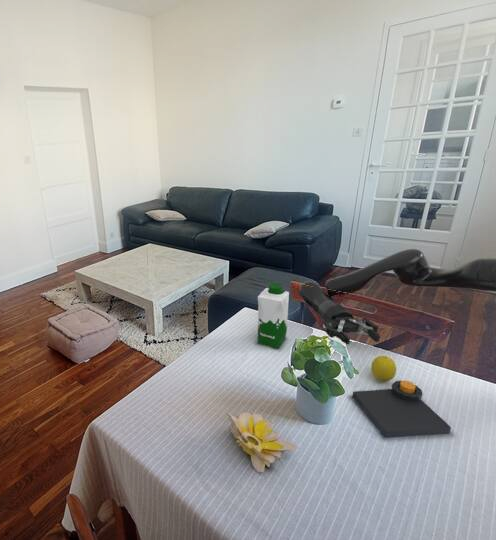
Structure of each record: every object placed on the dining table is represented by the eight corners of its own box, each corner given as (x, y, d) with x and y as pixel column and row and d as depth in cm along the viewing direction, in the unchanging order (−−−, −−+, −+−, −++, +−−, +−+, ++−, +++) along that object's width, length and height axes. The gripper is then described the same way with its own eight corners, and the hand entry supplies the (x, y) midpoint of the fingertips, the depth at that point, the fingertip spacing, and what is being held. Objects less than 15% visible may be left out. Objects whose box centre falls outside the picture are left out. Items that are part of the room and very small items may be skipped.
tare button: (408, 385, 86) (409, 380, 86) (417, 393, 84) (418, 388, 83) (396, 386, 87) (397, 381, 86) (405, 394, 84) (406, 389, 83)
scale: (408, 390, 89) (410, 379, 88) (453, 433, 76) (457, 421, 74) (350, 394, 90) (351, 384, 88) (385, 437, 77) (387, 425, 75)
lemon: (398, 387, 90) (403, 362, 87) (375, 387, 91) (379, 362, 88) (387, 374, 95) (391, 350, 93) (365, 373, 96) (369, 350, 94)
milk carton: (288, 338, 116) (292, 285, 109) (280, 351, 110) (282, 296, 103) (263, 331, 122) (265, 281, 115) (253, 343, 116) (254, 291, 109)
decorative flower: (308, 467, 70) (298, 431, 67) (260, 490, 69) (248, 455, 66) (269, 418, 84) (259, 387, 81) (228, 437, 83) (217, 406, 80)
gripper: (313, 306, 114) (340, 331, 99) (357, 302, 113) (390, 327, 98) (312, 325, 117) (337, 353, 101) (354, 322, 116) (386, 349, 101)
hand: (363, 340), depth 100 cm, fingers open, 8 cm apart
